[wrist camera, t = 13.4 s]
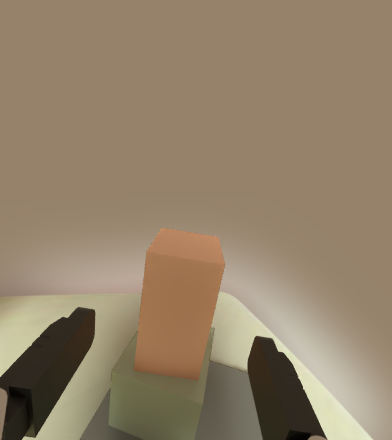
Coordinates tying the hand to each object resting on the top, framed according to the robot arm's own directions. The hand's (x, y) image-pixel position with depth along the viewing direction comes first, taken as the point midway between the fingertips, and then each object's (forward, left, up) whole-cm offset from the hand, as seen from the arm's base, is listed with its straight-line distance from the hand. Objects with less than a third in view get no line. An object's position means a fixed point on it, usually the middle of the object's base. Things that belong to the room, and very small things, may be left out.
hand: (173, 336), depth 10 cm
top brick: (-1, +6, -7) cm, 9 cm away
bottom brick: (-1, +6, -13) cm, 15 cm away
